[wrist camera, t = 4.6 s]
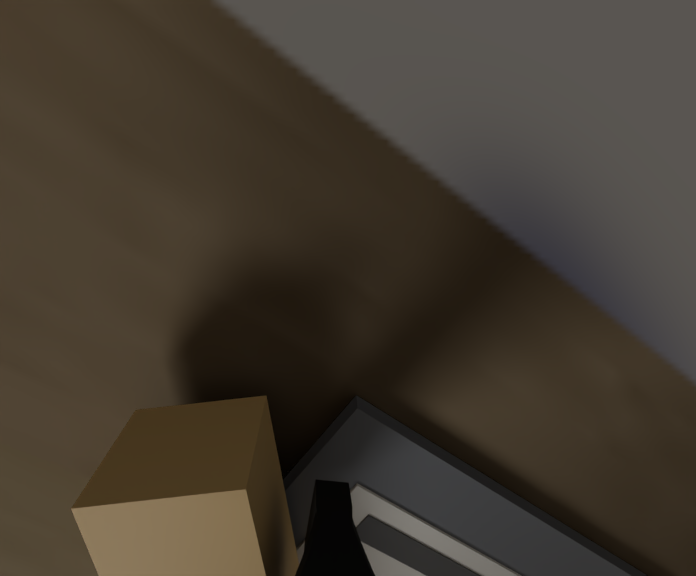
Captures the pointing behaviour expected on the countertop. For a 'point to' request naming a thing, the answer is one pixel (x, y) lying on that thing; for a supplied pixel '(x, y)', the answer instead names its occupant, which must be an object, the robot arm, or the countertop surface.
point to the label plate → (434, 508)
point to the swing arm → (190, 495)
